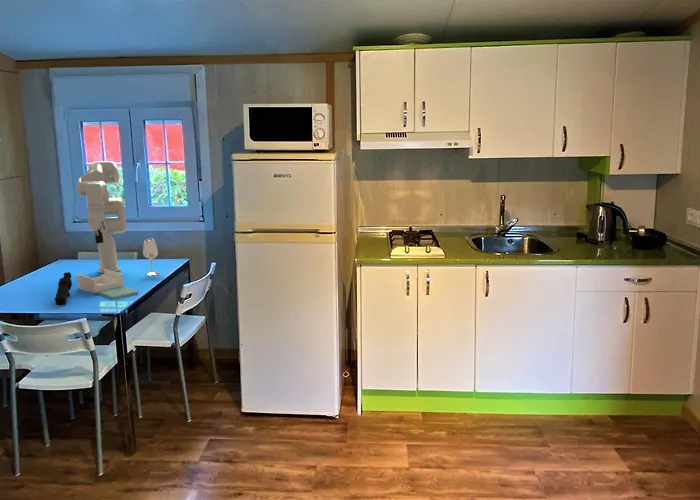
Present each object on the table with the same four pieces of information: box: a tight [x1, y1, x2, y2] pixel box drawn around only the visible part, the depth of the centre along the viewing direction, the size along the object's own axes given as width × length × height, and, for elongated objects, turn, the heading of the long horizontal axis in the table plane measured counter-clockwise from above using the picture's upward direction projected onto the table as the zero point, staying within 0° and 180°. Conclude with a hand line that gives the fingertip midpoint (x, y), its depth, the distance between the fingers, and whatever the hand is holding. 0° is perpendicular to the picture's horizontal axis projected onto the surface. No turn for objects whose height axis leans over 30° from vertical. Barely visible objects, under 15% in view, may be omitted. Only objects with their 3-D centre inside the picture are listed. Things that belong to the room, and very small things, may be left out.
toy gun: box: [54, 272, 73, 306], centre depth 296 cm, size 6×25×10 cm, turn 15°
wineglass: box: [142, 238, 160, 276], centre depth 343 cm, size 8×8×20 cm
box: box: [76, 269, 125, 296], centre depth 315 cm, size 20×15×8 cm
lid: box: [98, 286, 139, 300], centre depth 303 cm, size 16×13×2 cm
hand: (99, 242), depth 308 cm, fingers closed
